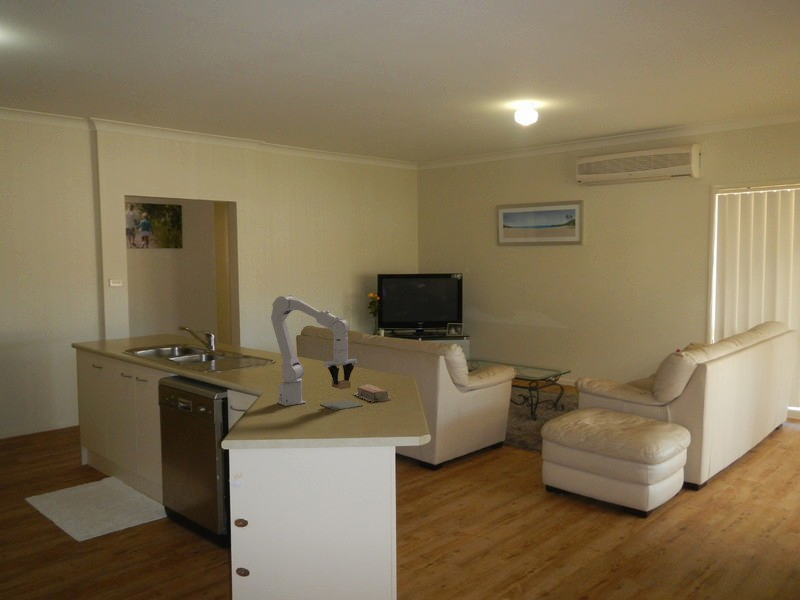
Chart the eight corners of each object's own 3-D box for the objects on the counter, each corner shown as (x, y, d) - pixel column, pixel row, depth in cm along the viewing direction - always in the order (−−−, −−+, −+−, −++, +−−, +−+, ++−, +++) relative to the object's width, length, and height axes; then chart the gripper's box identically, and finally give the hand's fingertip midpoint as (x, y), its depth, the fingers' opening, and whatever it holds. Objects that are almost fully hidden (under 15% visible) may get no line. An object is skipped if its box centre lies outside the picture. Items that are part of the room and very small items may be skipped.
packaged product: (392, 389, 272) (371, 392, 267) (392, 401, 272) (371, 403, 267) (373, 382, 288) (352, 384, 283) (373, 393, 288) (352, 395, 283)
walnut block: (331, 386, 264) (331, 380, 263) (341, 385, 266) (341, 378, 266) (341, 389, 258) (340, 382, 258) (350, 387, 261) (350, 381, 261)
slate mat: (334, 410, 253) (334, 409, 253) (319, 404, 263) (319, 404, 263) (362, 406, 261) (362, 405, 261) (347, 400, 271) (347, 399, 271)
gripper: (330, 352, 254) (330, 387, 254) (361, 349, 262) (361, 382, 263) (321, 350, 259) (321, 384, 260) (351, 347, 268) (352, 380, 269)
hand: (341, 383), depth 262 cm, fingers closed on walnut block, 4 cm apart
